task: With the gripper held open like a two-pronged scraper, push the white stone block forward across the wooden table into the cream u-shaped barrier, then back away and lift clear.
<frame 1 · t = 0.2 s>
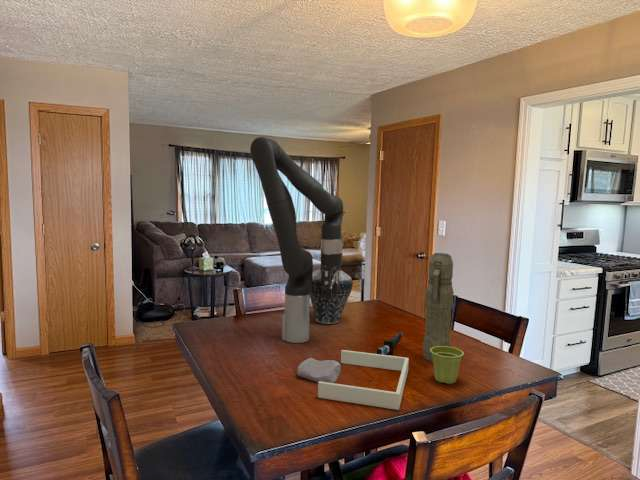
hand: (331, 297, 157), 17 cm above the table, tool pointing down, fingers open, 8 cm apart
stone statue: (436, 358, 147), on the table
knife: (391, 350, 153), on the table
stone block: (318, 377, 129), on the table
jug: (328, 322, 187), on the table
cream u-shaped barrier: (364, 382, 125), on the table
plant pot: (445, 380, 129), on the table
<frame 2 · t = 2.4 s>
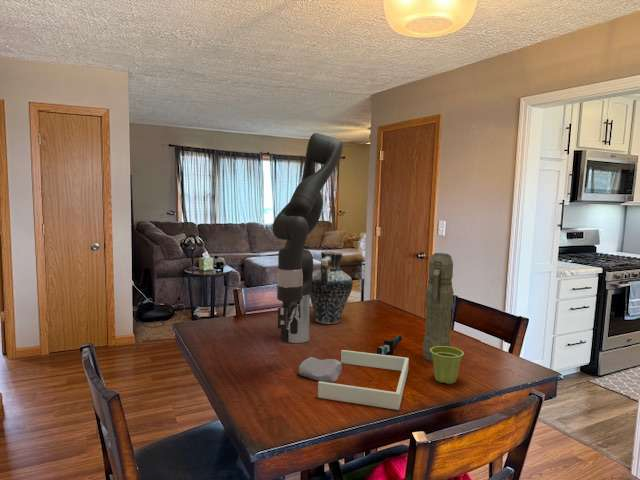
hand: (289, 337, 131), 10 cm above the table, tool pointing down, fingers open, 8 cm apart
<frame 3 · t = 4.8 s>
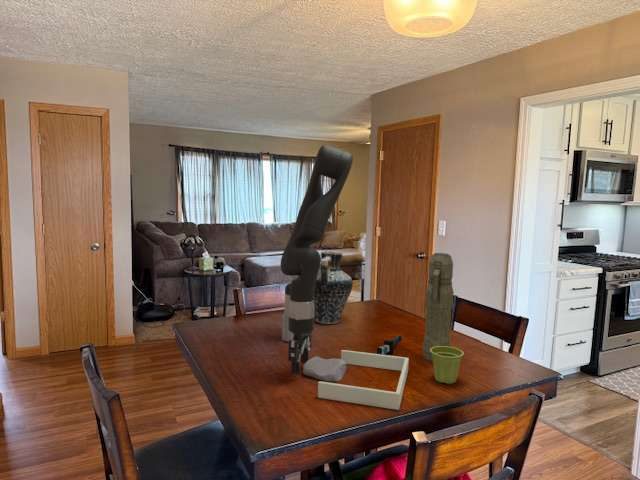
hand: (299, 368, 130), 2 cm above the table, tool pointing down, fingers open, 8 cm apart
stone block: (323, 375, 131), on the table, touching gripper
everything else where it was.
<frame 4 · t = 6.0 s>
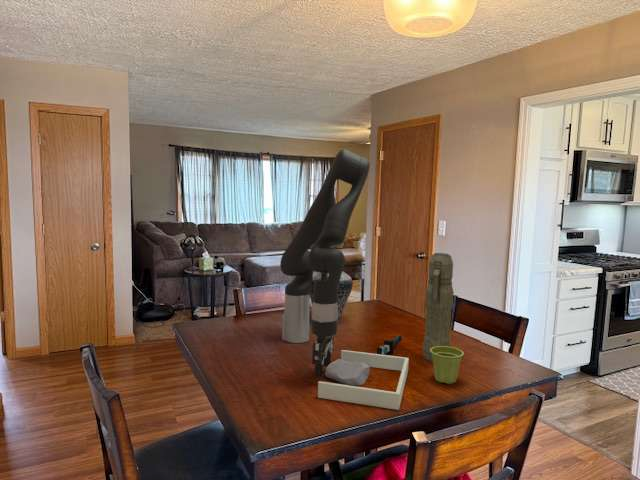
hand: (322, 371, 128), 2 cm above the table, tool pointing down, fingers open, 8 cm apart
stone block: (346, 379, 129), on the table, touching gripper
everything else where it was.
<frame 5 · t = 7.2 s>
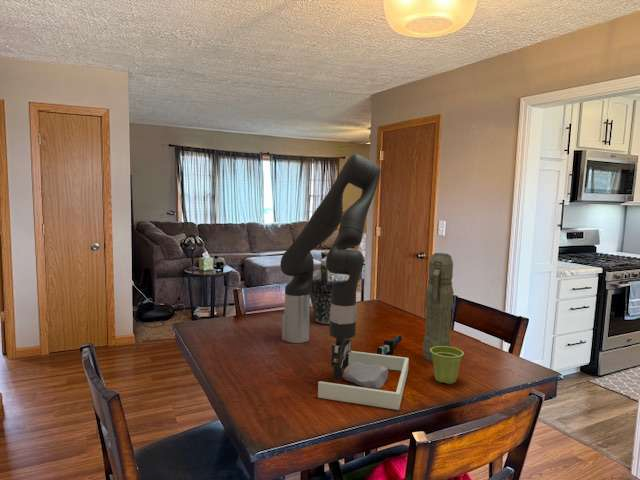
hand: (341, 374, 127), 2 cm above the table, tool pointing down, fingers open, 8 cm apart
stone block: (364, 381, 127), on the table
everything else where it was.
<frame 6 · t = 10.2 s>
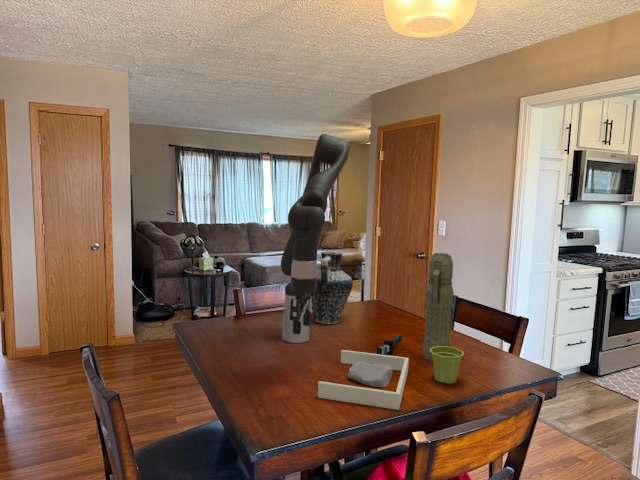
hand: (301, 329, 129), 13 cm above the table, tool pointing down, fingers open, 8 cm apart
stone block: (369, 381, 128), on the table
everything else where it was.
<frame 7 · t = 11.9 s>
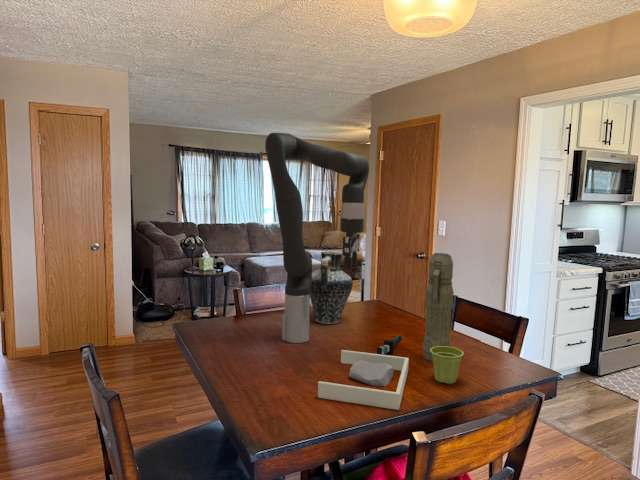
hand: (350, 267, 142), 30 cm above the table, tool pointing down, fingers open, 8 cm apart
nothing on the table moved.
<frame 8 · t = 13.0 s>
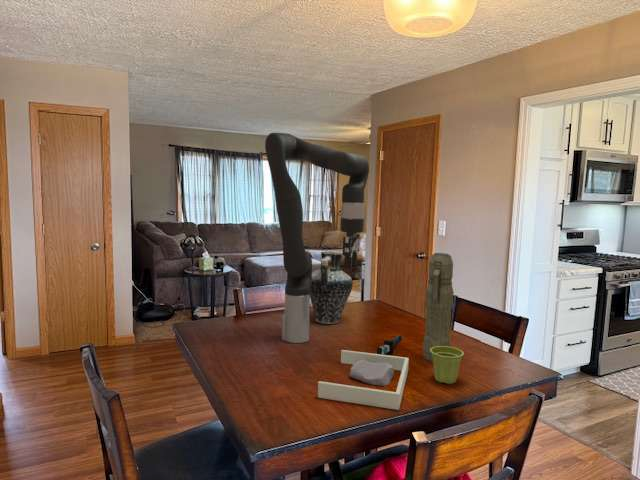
hand: (350, 267, 142), 30 cm above the table, tool pointing down, fingers open, 8 cm apart
at the end: stone block inside the target area (4.2 cm from its centre), on the table; stone block moved 15.6 cm from its start; the gripper is holding nothing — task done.
